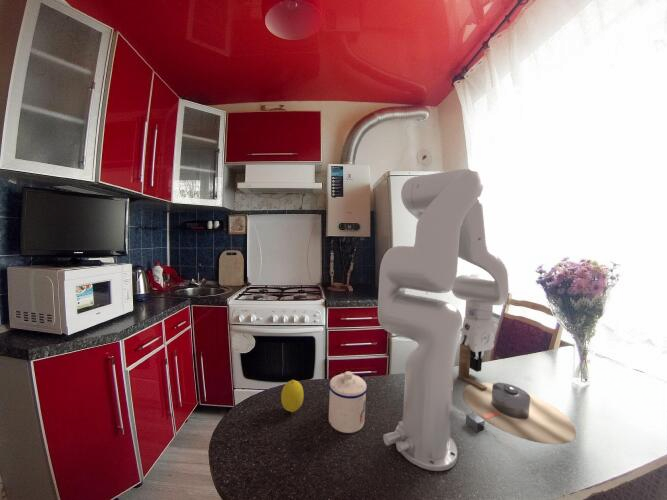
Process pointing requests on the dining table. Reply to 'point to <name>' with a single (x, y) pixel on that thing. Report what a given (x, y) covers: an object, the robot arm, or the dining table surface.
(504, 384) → the cover
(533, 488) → the dining table surface
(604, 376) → the dining table surface
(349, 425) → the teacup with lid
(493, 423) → the turntable
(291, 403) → the lemon
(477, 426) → the speckled grey block
